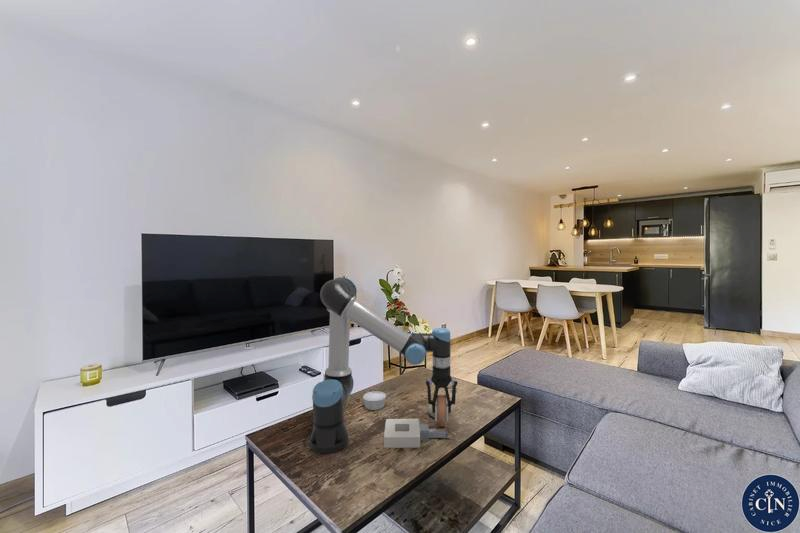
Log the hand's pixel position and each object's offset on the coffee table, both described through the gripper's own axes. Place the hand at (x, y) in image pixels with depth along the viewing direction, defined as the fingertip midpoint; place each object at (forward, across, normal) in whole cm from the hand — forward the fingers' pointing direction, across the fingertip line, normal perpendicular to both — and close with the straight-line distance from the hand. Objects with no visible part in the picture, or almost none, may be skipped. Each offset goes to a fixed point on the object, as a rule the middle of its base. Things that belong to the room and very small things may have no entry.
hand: (441, 419), depth 144 cm
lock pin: (+4, -4, -7) cm, 9 cm away
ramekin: (+5, -30, +21) cm, 37 cm away
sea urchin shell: (+4, 0, +12) cm, 13 cm away
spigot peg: (+2, 0, 0) cm, 2 cm away
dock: (+4, -16, -7) cm, 18 cm away
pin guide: (+4, -8, -7) cm, 11 cm away
